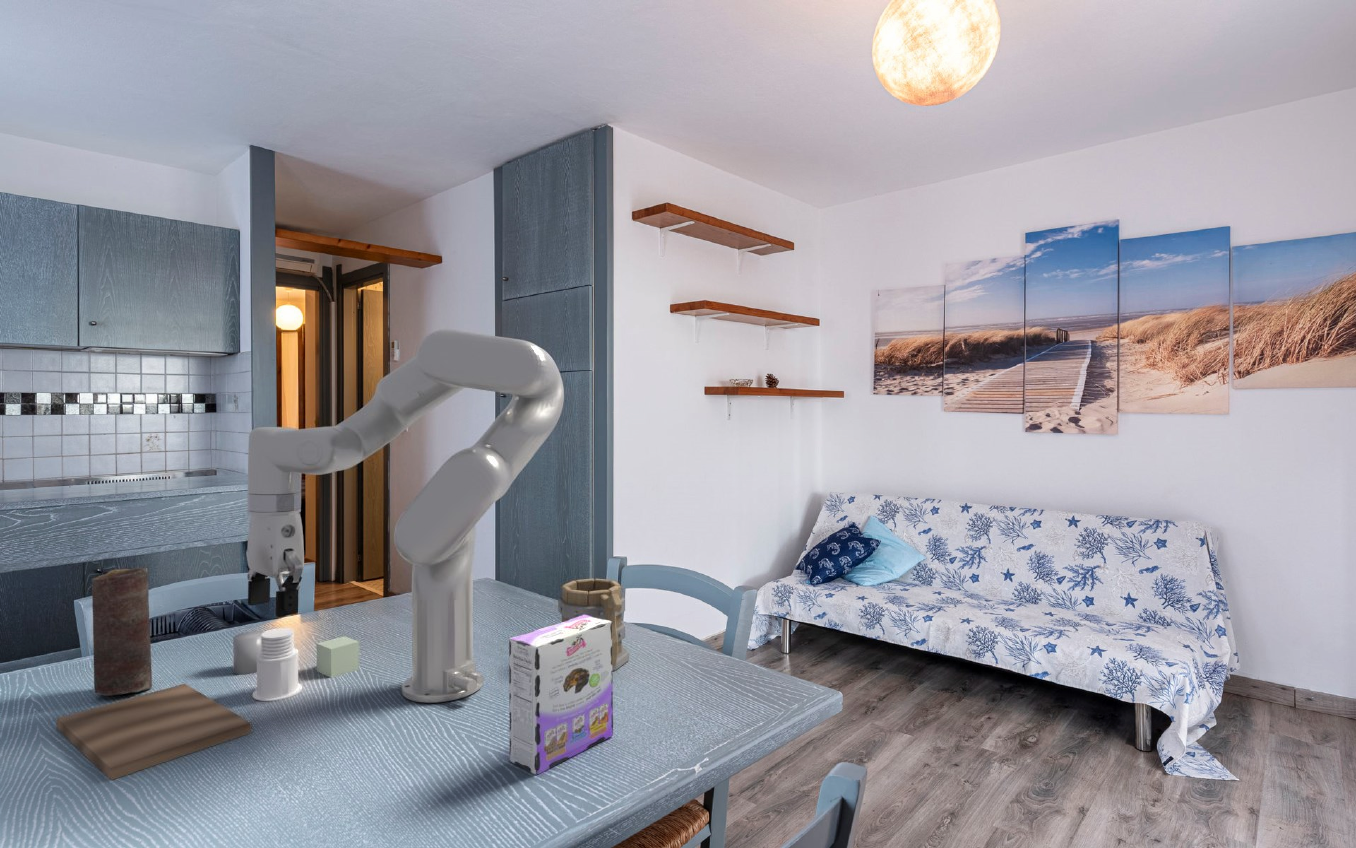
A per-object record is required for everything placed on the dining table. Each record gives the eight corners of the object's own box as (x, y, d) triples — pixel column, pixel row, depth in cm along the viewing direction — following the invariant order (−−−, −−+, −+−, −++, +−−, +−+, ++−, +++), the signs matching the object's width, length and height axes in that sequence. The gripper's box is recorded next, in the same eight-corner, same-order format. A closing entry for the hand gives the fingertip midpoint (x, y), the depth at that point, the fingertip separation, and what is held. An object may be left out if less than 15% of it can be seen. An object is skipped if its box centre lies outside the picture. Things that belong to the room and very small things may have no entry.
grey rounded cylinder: (271, 668, 126) (271, 634, 126) (241, 676, 122) (240, 642, 122) (259, 662, 129) (258, 629, 129) (228, 670, 125) (228, 636, 125)
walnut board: (250, 733, 100) (250, 722, 100) (111, 780, 88) (110, 768, 88) (185, 693, 115) (184, 683, 115) (56, 728, 102) (56, 718, 102)
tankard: (549, 655, 133) (549, 575, 132) (614, 646, 138) (613, 569, 137) (577, 694, 114) (577, 601, 114) (651, 682, 119) (650, 593, 119)
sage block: (359, 669, 125) (359, 641, 125) (331, 678, 121) (331, 649, 121) (344, 663, 128) (344, 636, 128) (316, 671, 124) (316, 643, 124)
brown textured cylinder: (118, 704, 110) (116, 576, 110) (80, 700, 112) (78, 574, 111) (163, 686, 118) (161, 566, 117) (127, 682, 119) (125, 564, 119)
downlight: (246, 691, 115) (246, 631, 115) (293, 680, 120) (293, 622, 120) (260, 708, 110) (260, 644, 109) (309, 695, 115) (309, 634, 114)
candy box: (585, 725, 103) (585, 612, 103) (614, 737, 99) (614, 620, 99) (507, 761, 92) (506, 636, 92) (536, 776, 88) (536, 645, 88)
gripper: (324, 507, 112) (322, 614, 112) (274, 496, 122) (272, 595, 123) (274, 511, 106) (272, 625, 106) (226, 500, 116) (224, 604, 117)
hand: (272, 609), depth 115 cm, fingers open, 9 cm apart
